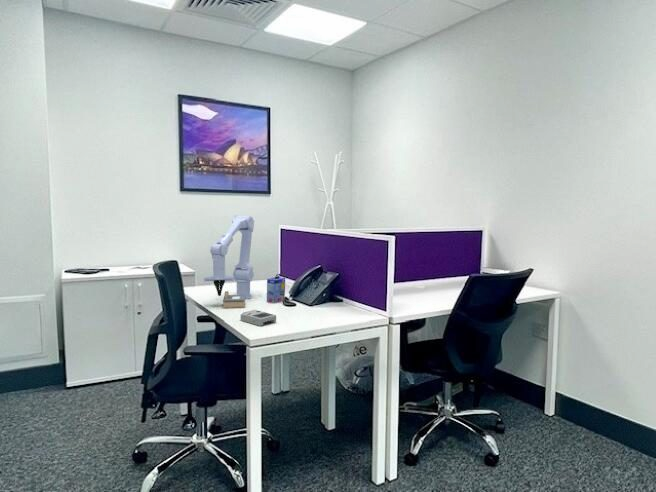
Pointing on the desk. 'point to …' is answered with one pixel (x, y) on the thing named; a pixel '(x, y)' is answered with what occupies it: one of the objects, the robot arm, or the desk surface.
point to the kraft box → (234, 304)
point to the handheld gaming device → (257, 317)
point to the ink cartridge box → (275, 289)
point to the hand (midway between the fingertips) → (219, 295)
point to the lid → (233, 297)
